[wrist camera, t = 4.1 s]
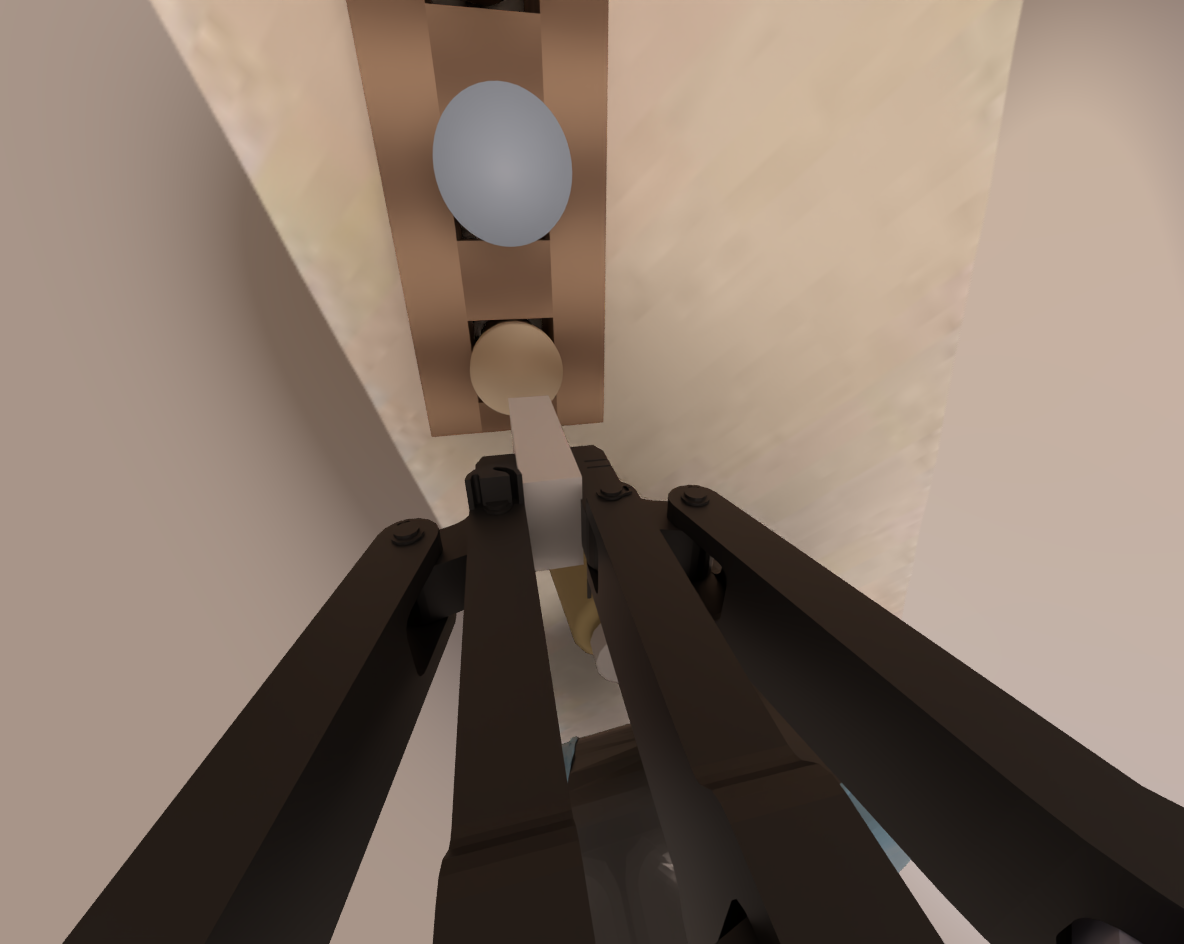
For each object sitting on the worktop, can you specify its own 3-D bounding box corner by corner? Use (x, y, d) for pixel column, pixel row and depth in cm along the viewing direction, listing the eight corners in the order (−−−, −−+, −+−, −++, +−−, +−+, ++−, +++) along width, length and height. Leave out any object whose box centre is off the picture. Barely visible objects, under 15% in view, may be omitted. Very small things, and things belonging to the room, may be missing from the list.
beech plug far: (547, 375, 29) (564, 412, 23) (477, 379, 28) (476, 419, 22) (544, 302, 27) (561, 322, 21) (468, 305, 26) (463, 327, 20)
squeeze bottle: (559, 462, 34) (622, 653, 19) (646, 489, 37) (762, 672, 22) (523, 543, 37) (552, 765, 22) (607, 561, 40) (684, 768, 25)
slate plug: (549, 242, 22) (573, 246, 16) (456, 242, 21) (445, 247, 15) (544, 128, 20) (570, 85, 14) (440, 124, 19) (420, 76, 13)
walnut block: (584, 391, 32) (603, 422, 27) (440, 401, 30) (431, 436, 25) (578, -112, 20) (610, -229, 15) (343, -146, 18) (288, -294, 13)
